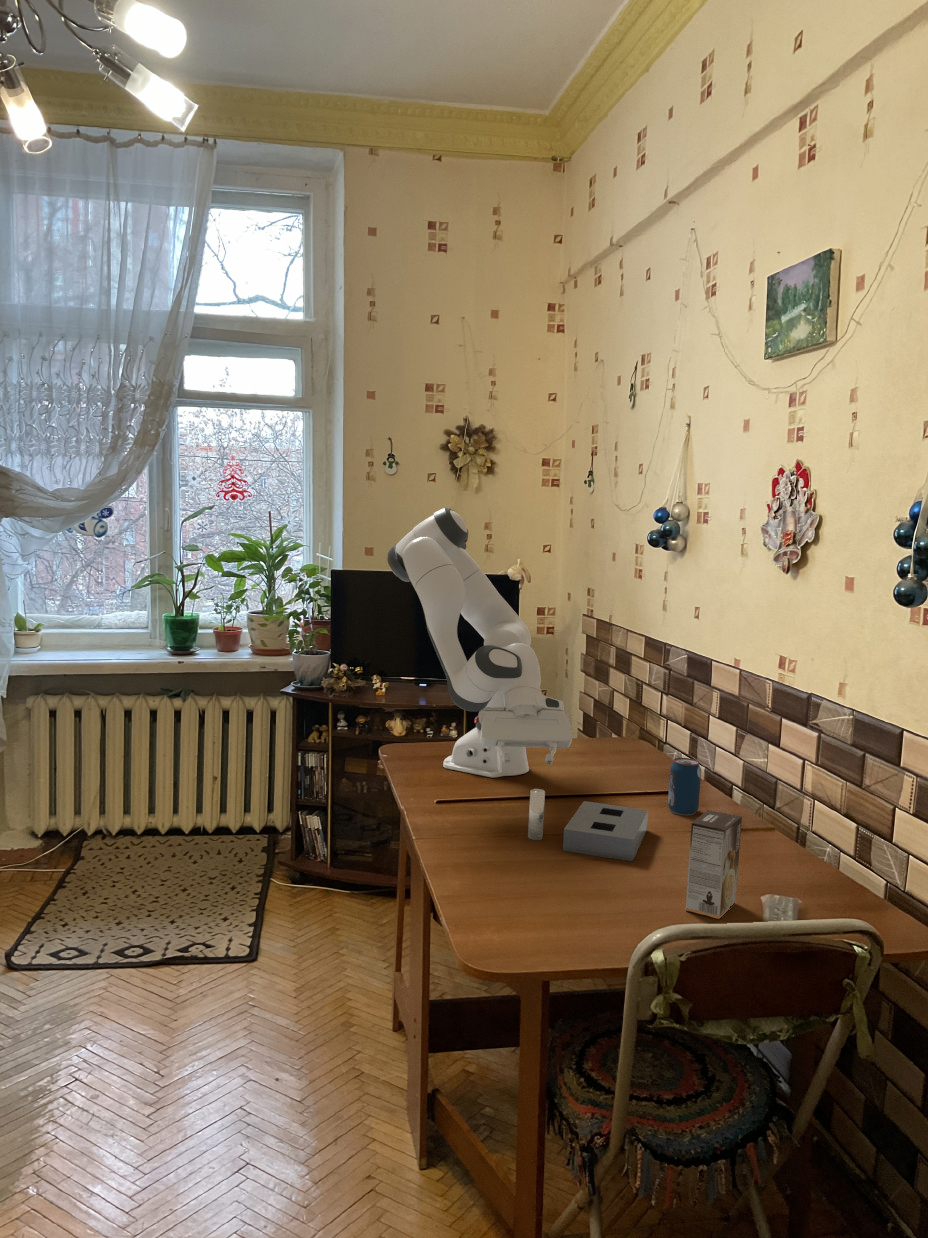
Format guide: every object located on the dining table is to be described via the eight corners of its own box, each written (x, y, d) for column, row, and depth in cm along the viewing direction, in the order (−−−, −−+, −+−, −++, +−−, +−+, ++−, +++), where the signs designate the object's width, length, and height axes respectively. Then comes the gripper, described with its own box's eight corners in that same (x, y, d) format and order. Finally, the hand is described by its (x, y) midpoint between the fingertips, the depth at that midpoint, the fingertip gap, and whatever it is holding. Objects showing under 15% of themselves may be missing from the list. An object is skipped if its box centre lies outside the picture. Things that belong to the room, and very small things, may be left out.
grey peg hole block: (562, 850, 190) (564, 829, 190) (582, 820, 209) (583, 801, 208) (632, 861, 186) (634, 839, 185) (646, 830, 205) (647, 810, 204)
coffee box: (701, 894, 171) (707, 808, 169) (736, 903, 168) (743, 816, 166) (684, 911, 163) (690, 821, 162) (720, 921, 160) (727, 830, 158)
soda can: (703, 812, 219) (707, 761, 217) (688, 818, 214) (692, 766, 212) (677, 804, 224) (680, 755, 222) (661, 810, 218) (665, 760, 217)
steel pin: (526, 838, 196) (528, 792, 195) (529, 834, 199) (532, 788, 198) (540, 841, 195) (543, 794, 194) (543, 836, 198) (546, 790, 197)
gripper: (479, 699, 210) (481, 754, 201) (570, 702, 211) (576, 756, 203) (476, 714, 215) (478, 768, 206) (565, 717, 216) (571, 770, 208)
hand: (528, 762), depth 205 cm, fingers open, 8 cm apart
